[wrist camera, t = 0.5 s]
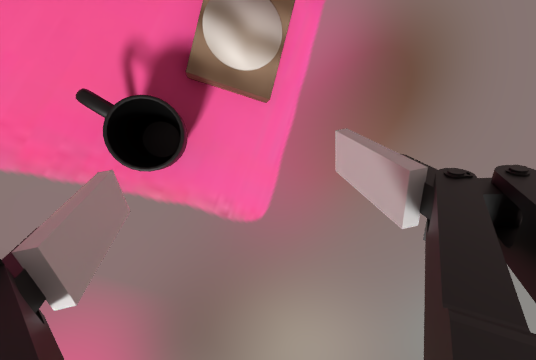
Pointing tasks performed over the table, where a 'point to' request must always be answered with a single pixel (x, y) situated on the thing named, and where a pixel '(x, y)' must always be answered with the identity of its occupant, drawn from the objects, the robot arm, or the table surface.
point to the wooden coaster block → (240, 45)
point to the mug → (139, 130)
